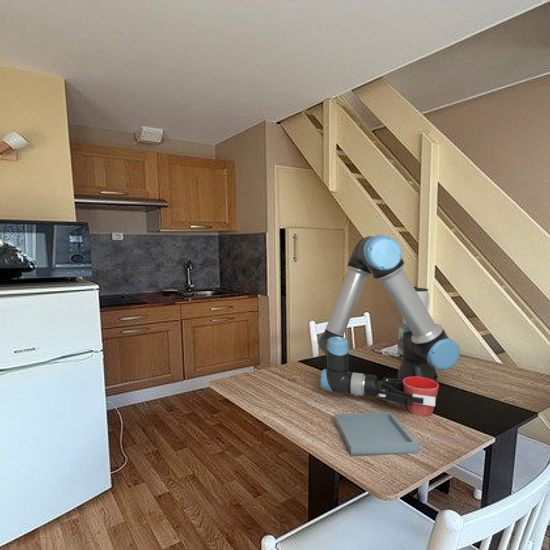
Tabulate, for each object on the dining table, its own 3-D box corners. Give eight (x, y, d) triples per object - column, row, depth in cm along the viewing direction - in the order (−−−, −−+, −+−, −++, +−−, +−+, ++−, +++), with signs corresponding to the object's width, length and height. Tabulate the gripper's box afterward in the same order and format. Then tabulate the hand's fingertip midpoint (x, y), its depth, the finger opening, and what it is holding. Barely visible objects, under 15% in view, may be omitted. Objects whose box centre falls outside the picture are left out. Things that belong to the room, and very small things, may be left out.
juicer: (411, 364, 162) (413, 289, 159) (389, 356, 173) (390, 286, 171) (437, 357, 171) (439, 286, 168) (414, 350, 183) (416, 284, 180)
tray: (390, 419, 110) (390, 411, 109) (418, 452, 92) (418, 443, 92) (334, 421, 108) (334, 414, 108) (351, 456, 91) (351, 447, 90)
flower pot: (435, 421, 108) (436, 391, 107) (399, 413, 114) (399, 384, 113) (440, 408, 117) (440, 380, 116) (405, 401, 123) (406, 374, 122)
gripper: (369, 384, 133) (433, 393, 124) (359, 409, 112) (435, 422, 103) (369, 364, 132) (433, 372, 123) (359, 386, 111) (436, 397, 103)
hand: (434, 395), depth 113 cm, fingers closed on flower pot, 10 cm apart
